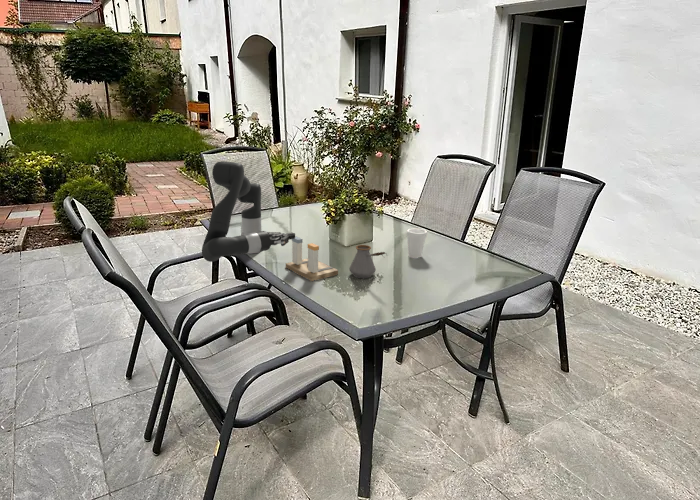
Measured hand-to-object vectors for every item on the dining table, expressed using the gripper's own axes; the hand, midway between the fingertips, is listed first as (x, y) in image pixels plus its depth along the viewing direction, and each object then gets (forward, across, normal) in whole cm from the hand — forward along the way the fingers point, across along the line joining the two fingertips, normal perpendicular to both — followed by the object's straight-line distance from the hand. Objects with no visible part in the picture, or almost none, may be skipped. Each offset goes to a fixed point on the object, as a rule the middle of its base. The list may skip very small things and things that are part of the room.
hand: (293, 235), depth 186 cm
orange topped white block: (+10, 0, +17) cm, 20 cm away
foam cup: (+67, -6, +20) cm, 70 cm away
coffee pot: (+28, -15, +20) cm, 38 cm away
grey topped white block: (+10, +12, +17) cm, 23 cm away
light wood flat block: (+13, +6, +20) cm, 25 cm away
